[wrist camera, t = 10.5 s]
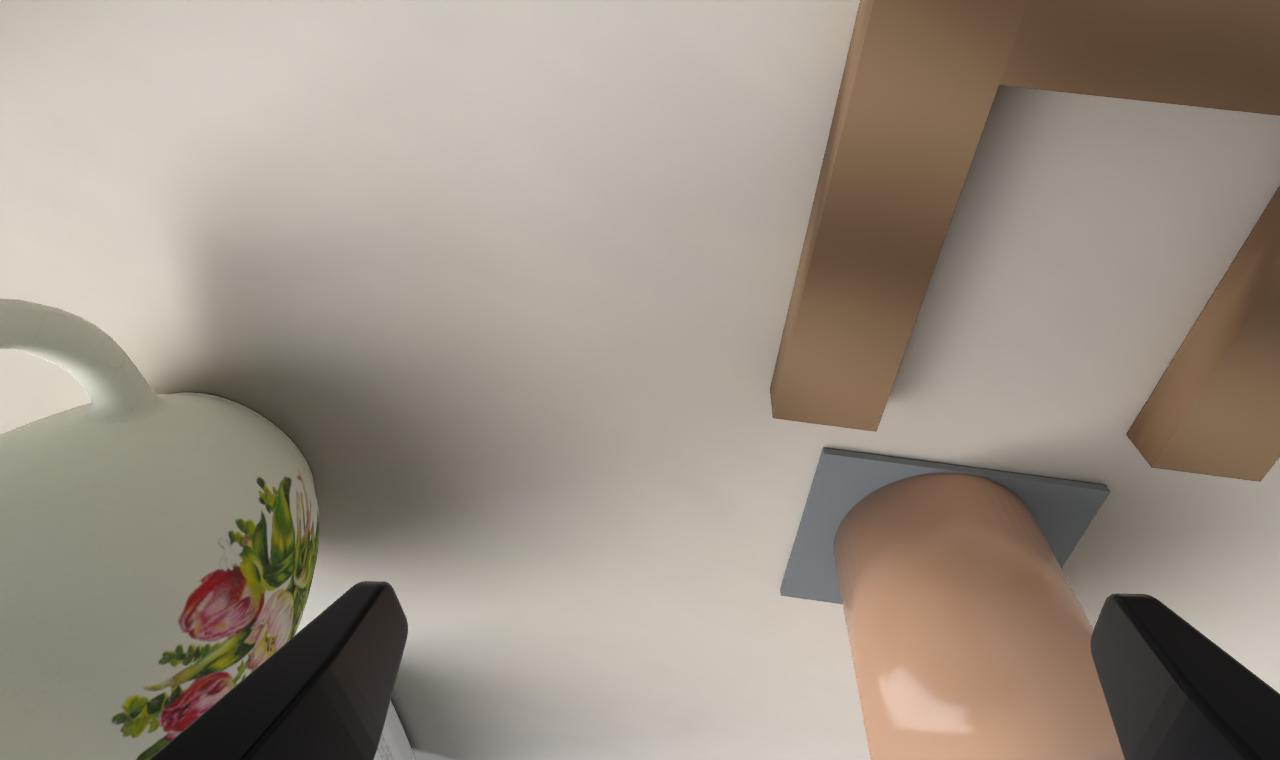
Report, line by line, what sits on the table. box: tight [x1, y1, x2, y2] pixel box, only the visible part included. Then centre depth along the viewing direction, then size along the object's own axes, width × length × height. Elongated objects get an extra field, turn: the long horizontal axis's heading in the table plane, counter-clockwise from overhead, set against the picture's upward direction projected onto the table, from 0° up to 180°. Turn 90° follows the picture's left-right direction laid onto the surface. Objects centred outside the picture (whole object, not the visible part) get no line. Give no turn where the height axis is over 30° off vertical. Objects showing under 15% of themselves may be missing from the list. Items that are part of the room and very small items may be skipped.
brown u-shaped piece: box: [770, 0, 1280, 481], centre depth 17 cm, size 12×14×2 cm
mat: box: [780, 448, 1110, 604], centre depth 24 cm, size 7×9×1 cm
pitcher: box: [0, 299, 319, 760], centre depth 19 cm, size 11×18×14 cm, turn 175°
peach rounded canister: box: [833, 473, 1124, 760], centre depth 21 cm, size 10×7×8 cm
